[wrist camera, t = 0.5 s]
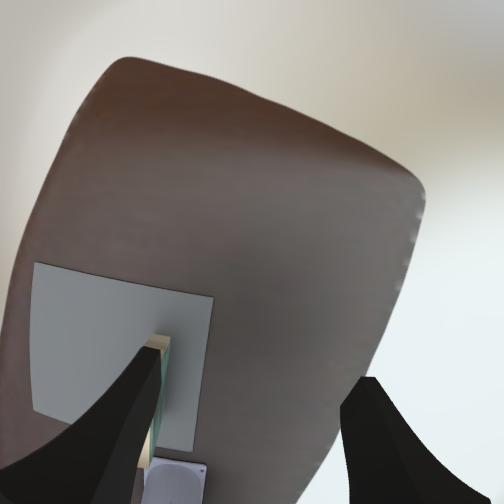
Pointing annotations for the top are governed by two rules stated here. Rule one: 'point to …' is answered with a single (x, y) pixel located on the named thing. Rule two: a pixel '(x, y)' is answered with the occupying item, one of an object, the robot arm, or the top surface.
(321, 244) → the top surface
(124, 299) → the slate mat
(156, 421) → the teal framed tile
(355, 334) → the top surface
